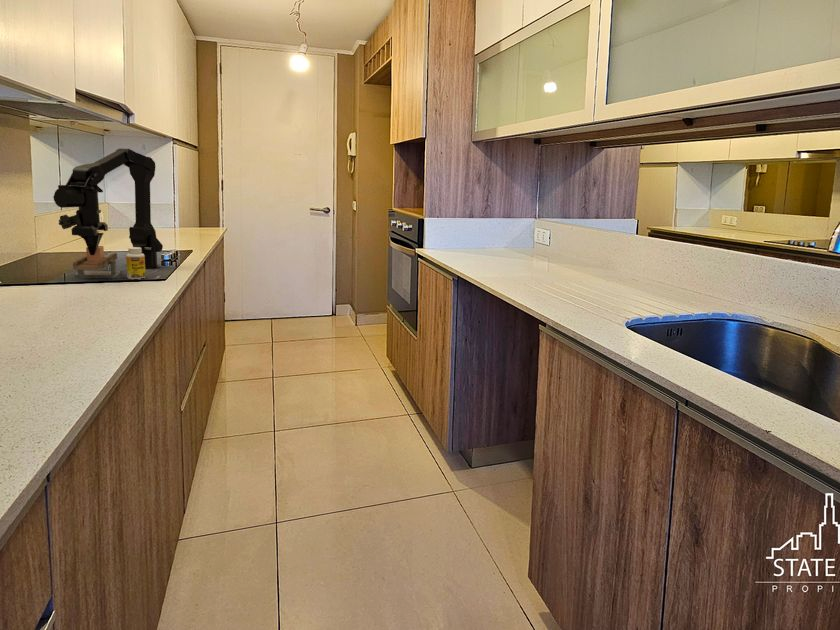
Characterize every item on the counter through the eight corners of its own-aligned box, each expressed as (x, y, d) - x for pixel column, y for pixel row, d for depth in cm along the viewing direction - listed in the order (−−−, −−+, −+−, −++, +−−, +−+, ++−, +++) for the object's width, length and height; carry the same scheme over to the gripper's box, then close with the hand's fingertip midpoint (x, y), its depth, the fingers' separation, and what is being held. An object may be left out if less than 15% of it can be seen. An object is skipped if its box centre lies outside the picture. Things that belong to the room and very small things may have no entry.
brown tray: (92, 258, 206) (91, 251, 205) (117, 258, 208) (116, 252, 207) (73, 269, 185) (72, 262, 185) (101, 269, 187) (100, 262, 187)
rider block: (91, 259, 198) (90, 245, 197) (104, 259, 199) (103, 245, 198) (87, 261, 194) (86, 247, 193) (100, 261, 195) (99, 248, 194)
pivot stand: (81, 273, 200) (79, 259, 199) (119, 273, 203) (118, 259, 202) (74, 277, 192) (72, 262, 191) (114, 277, 195) (113, 262, 194)
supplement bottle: (130, 280, 192) (128, 249, 190) (125, 277, 196) (122, 247, 194) (148, 279, 196) (146, 248, 194) (142, 276, 200) (140, 246, 198)
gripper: (69, 204, 195) (73, 251, 199) (50, 207, 178) (55, 258, 181) (106, 205, 198) (109, 251, 202) (91, 208, 181) (95, 259, 184)
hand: (92, 255), depth 192 cm, fingers closed
